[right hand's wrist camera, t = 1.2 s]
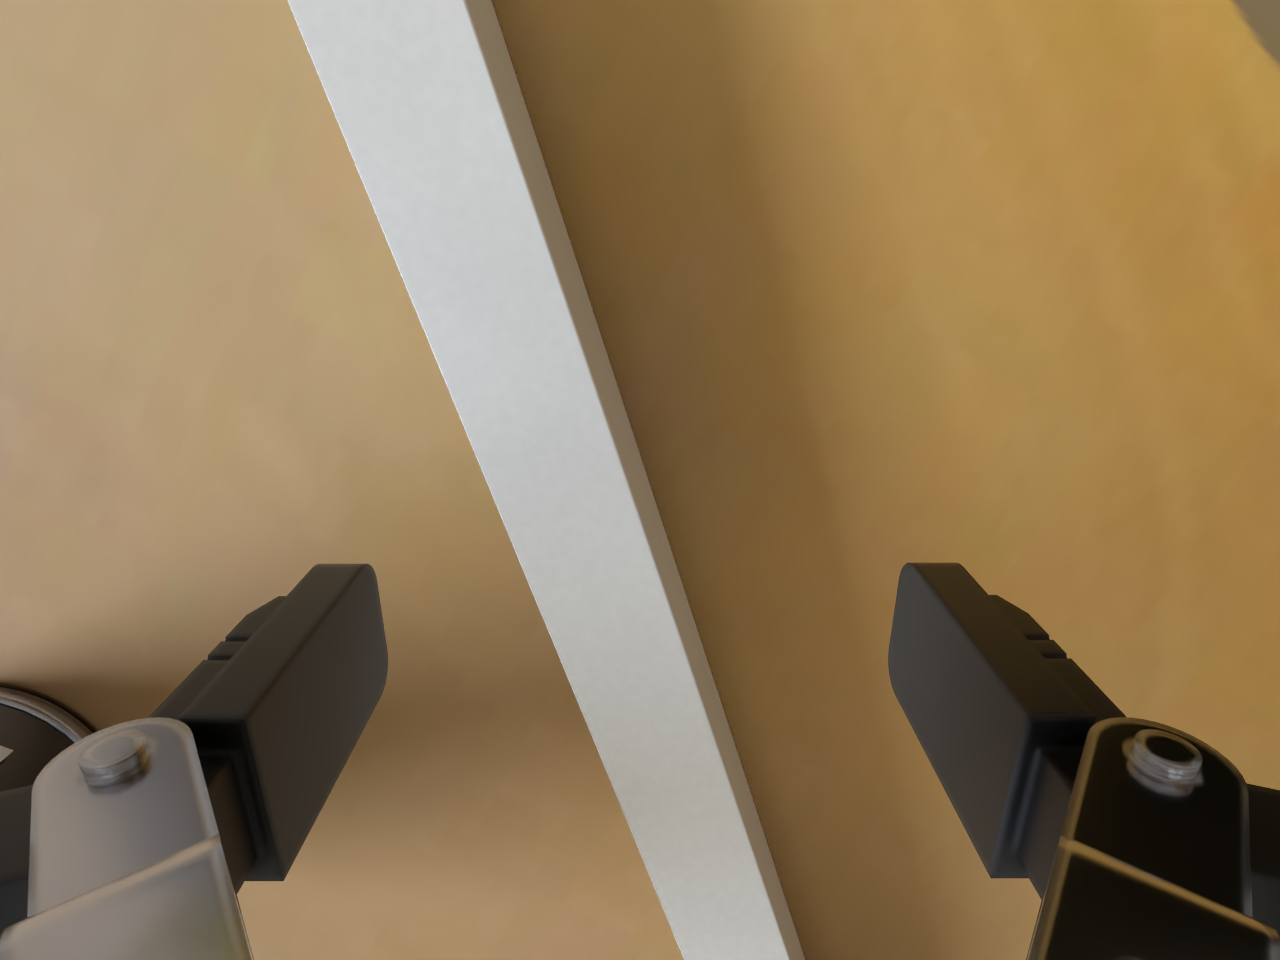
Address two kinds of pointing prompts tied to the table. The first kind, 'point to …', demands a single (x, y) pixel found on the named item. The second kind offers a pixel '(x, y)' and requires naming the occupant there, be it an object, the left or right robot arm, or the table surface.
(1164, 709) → the table surface
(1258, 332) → the table surface
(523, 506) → the bar
